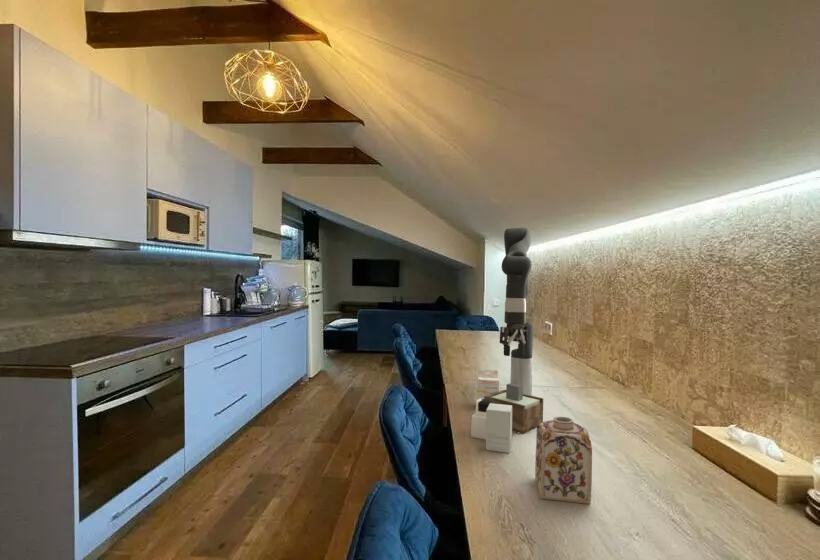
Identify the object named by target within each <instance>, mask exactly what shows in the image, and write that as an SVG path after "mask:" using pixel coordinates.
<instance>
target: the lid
mask: <svg viewBox="0 0 820 560" xmlns="http://www.w3.org/2000/svg"><path fill="white" fill-rule="evenodd" d="M505 390H506V392H505V393H502V394H499V395H496V396H493V398H497V399H501V400H505V401H509V402H513V403H517V404H521V405H525V408H528V407H530V406H533V405H535V404H538V403H540V400H538V399H533V398H529V397H525V396H523V386H522V385H518V384H513V383H510V382H509V383H507V384H506V387H505Z"/></svg>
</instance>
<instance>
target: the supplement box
mask: <svg viewBox="0 0 820 560" xmlns="http://www.w3.org/2000/svg"><path fill="white" fill-rule="evenodd" d="M512 446H513V431H512V405H503V404H493V403H490V404H489V406H488V408H487V409H486V440H485V448H486V449H485V450H486V451H491V452H499V453H500V452H501V453H508V454H510V453H511V450H512Z"/></svg>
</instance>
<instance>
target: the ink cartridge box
mask: <svg viewBox="0 0 820 560" xmlns="http://www.w3.org/2000/svg"><path fill="white" fill-rule="evenodd" d="M498 374H499V371H498V370H494V369H478V370H477V382H476V400H478V399H481V398H484V396H486V395H489V394H493V393H496V392H499V391H500V379H499V377H498V376H499V375H498Z"/></svg>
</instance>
